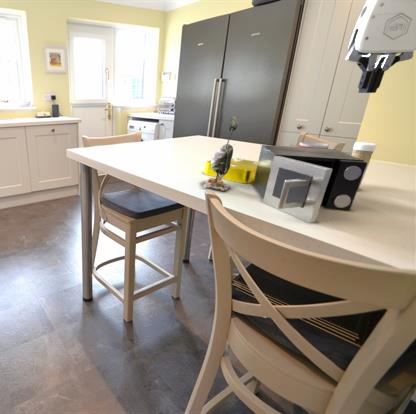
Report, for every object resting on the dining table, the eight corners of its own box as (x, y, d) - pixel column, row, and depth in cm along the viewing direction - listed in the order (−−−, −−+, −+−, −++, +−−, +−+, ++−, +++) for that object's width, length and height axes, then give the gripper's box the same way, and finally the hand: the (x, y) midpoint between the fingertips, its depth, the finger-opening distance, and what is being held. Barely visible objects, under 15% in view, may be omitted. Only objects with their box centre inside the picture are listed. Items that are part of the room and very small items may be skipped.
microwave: (351, 213, 66) (370, 162, 62) (266, 204, 70) (278, 156, 66) (321, 191, 81) (335, 149, 76) (252, 185, 85) (261, 144, 80)
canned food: (288, 176, 95) (297, 143, 91) (294, 172, 100) (303, 140, 96) (315, 181, 90) (326, 146, 86) (320, 176, 95) (331, 143, 91)
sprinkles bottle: (335, 187, 85) (351, 141, 80) (347, 186, 86) (363, 141, 81) (351, 192, 81) (368, 144, 75) (363, 191, 82) (381, 144, 77)
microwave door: (287, 226, 58) (303, 171, 54) (242, 204, 70) (253, 157, 65) (315, 222, 61) (332, 168, 56) (267, 201, 72) (279, 155, 67)
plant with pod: (235, 184, 85) (249, 115, 77) (223, 194, 77) (238, 117, 69) (208, 179, 90) (219, 113, 82) (194, 188, 81) (205, 115, 74)
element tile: (201, 174, 95) (203, 160, 94) (223, 167, 105) (225, 154, 103) (246, 184, 85) (249, 169, 83) (265, 176, 94) (269, 162, 93)
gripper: (365, -19, 50) (333, 92, 57) (471, -27, 47) (424, 92, 54) (343, -6, 57) (317, 92, 64) (435, -12, 54) (397, 92, 61)
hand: (366, 92), depth 59 cm, fingers closed
